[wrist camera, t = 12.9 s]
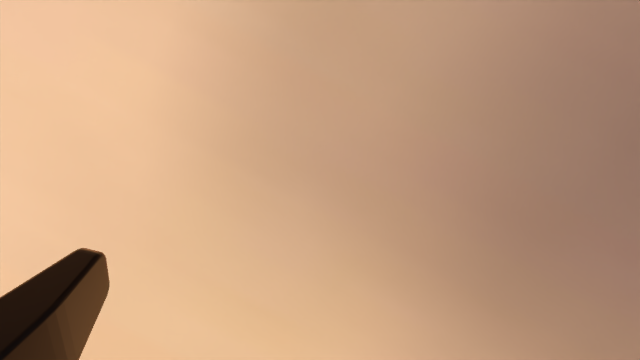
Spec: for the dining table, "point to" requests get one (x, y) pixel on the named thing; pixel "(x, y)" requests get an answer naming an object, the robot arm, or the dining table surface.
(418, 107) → the dining table surface
